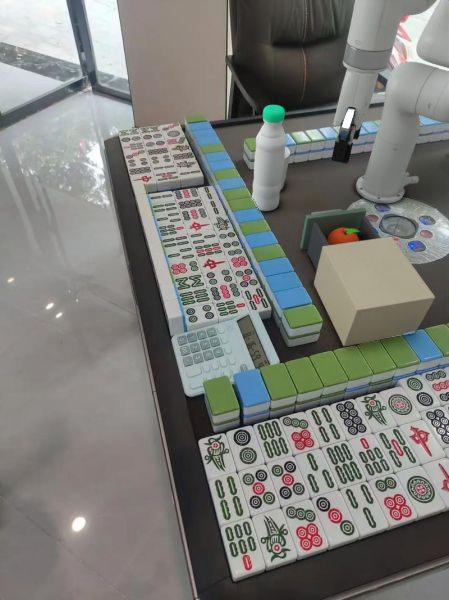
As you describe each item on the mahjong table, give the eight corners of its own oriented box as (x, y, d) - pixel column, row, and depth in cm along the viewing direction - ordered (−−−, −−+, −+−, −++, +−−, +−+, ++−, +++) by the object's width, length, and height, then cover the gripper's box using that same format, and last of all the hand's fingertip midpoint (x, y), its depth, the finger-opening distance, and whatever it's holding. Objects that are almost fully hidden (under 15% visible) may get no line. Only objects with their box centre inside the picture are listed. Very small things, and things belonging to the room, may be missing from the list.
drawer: (294, 234, 102) (299, 203, 95) (347, 227, 104) (356, 196, 97) (324, 295, 89) (332, 264, 83) (384, 285, 91) (397, 254, 85)
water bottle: (276, 214, 109) (289, 117, 90) (249, 210, 110) (255, 113, 91) (280, 198, 113) (292, 102, 95) (253, 194, 114) (260, 99, 95)
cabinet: (313, 283, 93) (322, 246, 85) (377, 274, 95) (391, 236, 87) (343, 346, 82) (357, 310, 74) (414, 334, 84) (435, 297, 76)
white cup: (255, 177, 120) (257, 144, 112) (283, 176, 120) (287, 142, 113) (258, 194, 114) (261, 160, 107) (288, 192, 115) (293, 159, 107)
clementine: (348, 241, 99) (355, 216, 94) (365, 260, 95) (374, 235, 89) (317, 249, 97) (323, 224, 92) (334, 269, 93) (341, 244, 87)
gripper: (355, 35, 79) (336, 126, 91) (333, 71, 68) (315, 167, 81) (397, 41, 77) (371, 133, 90) (381, 78, 66) (355, 176, 79)
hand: (345, 149), depth 85 cm, fingers open, 9 cm apart
